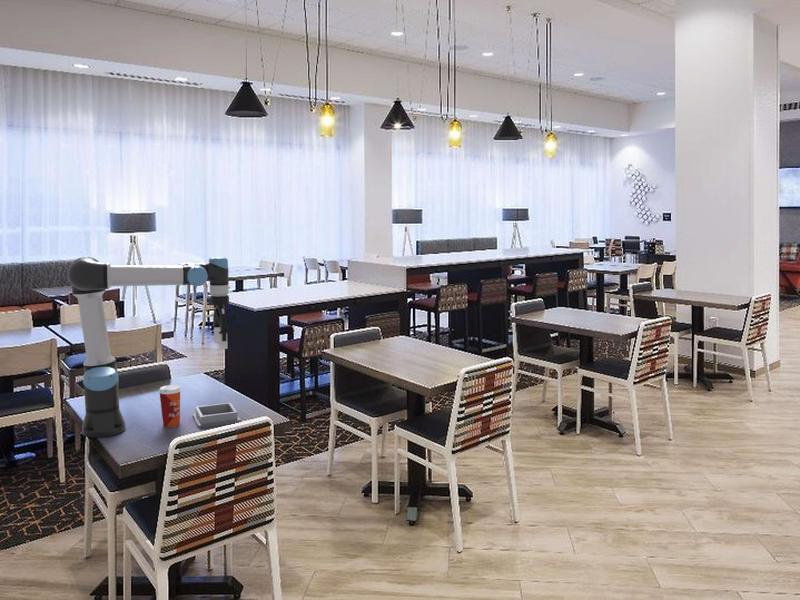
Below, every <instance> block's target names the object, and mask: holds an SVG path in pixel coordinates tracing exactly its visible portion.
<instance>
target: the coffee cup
mask: <svg viewBox="0 0 800 600" xmlns="http://www.w3.org/2000/svg"><path fill="white" fill-rule="evenodd" d="M181 391H182V389H181V387H180V386H179V385H176V384H169V385H164V386H163V385H162V386H161V387H160V388H159V390H158V393H159V400H160V406H161V407H160V410H161V418H162V424H163V427H164V426H165V427H164V428H168V427H171V428H174V427H173V426H176V427H178V426H177V425H179V424H180V423H181V421H180V420H181ZM179 426H180V425H179Z"/></svg>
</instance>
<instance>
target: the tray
mask: <svg viewBox="0 0 800 600" xmlns="http://www.w3.org/2000/svg"><path fill="white" fill-rule="evenodd" d="M192 417H193V419H194V422H195V423H196V426H197V425H198V426H197V427H198V428H199V429H202V428H201V427H203V428H207V427H206V426H210V427H217V426H224V425H232V424H231V423H233V424H236V423H235V422H240V423H242V419H241V418H240V417H239V415H238V411H237V410H236V408H235V407H234V406H233V404H232V402H224V403H216V404H215V403H214V404H208V405H200V406H195V413H192Z"/></svg>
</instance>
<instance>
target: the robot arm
mask: <svg viewBox="0 0 800 600" xmlns="http://www.w3.org/2000/svg"><path fill="white" fill-rule="evenodd" d="M67 278H68V281H69V283H70V286H71V292H72V296H73V297H76V298H77V301H78V309H79V315H80V322H81V329H82V336H83V343H84V348H85V357H86V359H85V360H84V362H83V371H84V373H83V380H82V384H83V391H84V392H83V393H84V406H85V413H84V414H85V415H84V419H83V422H82V426H81V434H82V436H83V437H85V438H96V439H97V438H98V439H99V438H107V437H108V438H109V437H111V436H115V435H118V434H121V433H123V432H125V430H126V421H125V419H124V416H123V414H122V412H121V410H120V397H119V380H120V376H119V372H118V371H119V370H118V368H117V360H116V358H115V357H114V356H113V355H111V348H110V341H109V340H110V339H109V335H108V327H107V322H106V321H107V320H106V314H105V313H106V312H105V307H104V306H105V305H104V299H103V295H104V293H105V292H106V290H109V289H110V288H112V287H140V286H141V287H142V286H144V287H146V286H152V287H153V286H155V287H156V286H193V287H201V286H203V285H205V283H206V282H208V281H209V294H210V296H209V301H210V302H209V304H210V305H211V306H213V317H212V318H213V319H212V325H213V334H214V335H213V336H214V337H213V338H214V340H213V341H214V342H213V343H214V344H217V343H220V345H219V346H220V350H227V349H228V333H229V328H228V327H229V326H228V318H227V317H228V316H227V308H225V306H227V305H229V304H230V295H229V292H230V290H229V289H231V287H230V286H229V278H230V277H229V261H228V258H227V257H225V256H224V257H223V256H215V257H214V256H213V257H210V258H209V259H208V261H207V262H181V263H179V264H178V265H111V264H110V263H109V262H100V261H99V260H97V258H94V257H92V256H91V257H90V256H83V257H79V258H76V259H75V260H74V261H73V262H71V264H70V266H69V267H68V270H67Z"/></svg>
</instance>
